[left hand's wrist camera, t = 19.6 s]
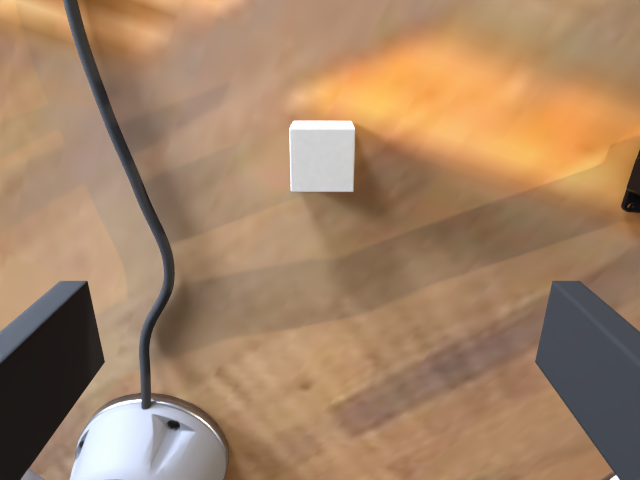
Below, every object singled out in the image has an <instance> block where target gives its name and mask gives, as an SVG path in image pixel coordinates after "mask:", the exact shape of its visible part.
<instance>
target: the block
mask: <svg viewBox="0 0 640 480" xmlns="http://www.w3.org/2000/svg"><path fill="white" fill-rule="evenodd" d="M354 151H355V128H354V126H353V123H352V121H293V123H292V125H291V127H290V169H291V192H353V186H354Z"/></svg>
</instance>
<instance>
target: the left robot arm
mask: <svg viewBox="0 0 640 480" xmlns="http://www.w3.org/2000/svg"><path fill="white" fill-rule="evenodd" d="M63 2H64V6H65V10H66V14H67V18H68V21H69V25H70V28H71V32H72V35H73V38H74V41H75V45H76V48H77V51H78V54H79V56H80V59H81V62H82V65H83V68H84V70H85V73H86V76H87V78H88V81H89V84H90V86H91V89H92V92H93V94H94V97H95V100H96V102H97V105H98V108H99V110H100V113H101V116H102V118H103V121H104V123H105V126H106V128H107V130H108V133H109V135H110V137H111V140H112V142H113V144H114V147H115V149H116V151H117V153H118V156H119V158H120V160H121V162H122V165H123V167H124V169H125V172H126V174H127V176H128V178H129V181H130V183H131V186H132V188H133V191H134V193H135V196H136V198H137V200H138V203H139V205H140V207H141V210H142V212H143V214H144V216H145V218H146V220H147V222H148V224H149V226H150V228H151V230H152V232H153V234H154V236H155V239H156V241H157V243H158V246H159V248H160V251H161V255H162V259H163V265H164V282H163V286H162V290H161V292H160V295H159V297H158V299H157V301H156V302H155V304H154V306H153V308H152V309H151V311H150V313H149V315H148V317H147V319H146V321H145V323H144V326H143V329H142V332H141V337H140V345H139V356H140V371H141V393H140V394H132V395H127V396H123V397H120V398H117V399H115V400H112V401H111V402H109V403H107V404H105V405H104V406H102V407H101V408H100V409H99V410H98V411H97V412H96V413H95V414H94V415H93V417H92V418H91V419H90V421H89V423H88V424H87V426H86V427H85V429H84V431H83V432H82V435H81V437H80V440H79V442H78V445H77V449H76V455H75V462H74V465H73V469H72V473H71V477H70V480H224V477H225V474H226V470H227V465H228V461H229V449H228V444H227V440H226V438H225V436H224V434H223V432H222V430H221V429H220V427H219V426H218V425H217V423H216V422H215V421H214V420H213V419H212V418H211V417H210V416H209V415H208V414H206V413H205V412H204V411H202V410H201V409H199V408H198V407H196V406H194V405H193V404H191V403H189V402H186V401H184V400H181V399H179V398H175V397H172V396H168V395H163V394H154V393H151V379H150V358H149V345H150V338H151V334H152V330H153V328H154V325H155V323H156V321H157V319H158V317H159V316H160V314H161V312H162V311H163V309H164V307H165V306H166V304H167V302H168V300H169V298H170V295H171V293H172V290H173V285H174V276H175V272H174V260H173V255H172V251H171V247H170V244H169V242H168V239H167V237H166V234H165V232H164V230H163V228H162V226H161V223H160V221H159V219H158V217H157V215H156V213H155V211H154V209H153V207H152V205H151V202H150V200H149V197H148V195H147V192H146V190H145V187H144V185H143V182H142V180H141V177H140V175H139V173H138V170H137V168H136V165H135V163H134V161H133V158H132V156H131V154H130V152H129V149H128V147H127V145H126V142H125V140H124V138H123V135H122V133H121V130H120V128H119V126H118V123H117V121H116V118H115V115H114V113H113V110H112V107H111V105H110V102H109V99H108V97H107V94H106V91H105V88H104V86H103V83H102V80H101V77H100V75H99V72H98V69H97V66H96V63H95V61H94V58H93V55H92V52H91V49H90V46H89V42H88V39H87V36H86V33H85V29H84V25H83V22H82V18H81V14H80V10H79V6H78V1H77V0H63ZM104 362H105V361H104V356H103V352H102V347H101V342H100V338H99V333H98V328H97V324H96V319H95V314H94V310H93V305H92V300H91V296H90V291H89V286H88V282H87V281H60V282H58V283H57V284H56V285H55V286H54V287H53V288H51V289H50V290H49V291H48V292H47V293H46V294H44V295H43V296H42V297H41V298H40V299H38V300H37V301H36V302H35V303H34V304H33V305H31V306H30V307H29V308H28V309H27V310H25V311H24V312H23V313H22V314H21V315H20V316H18V317H17V318H16V319H15V320H14V321H12V322H11V323H10V324H9V325H8V326H7V327H5V328H4V329H3V330H2V331H1V332H0V480H44V479H43V478H42V477H40V476H39V475H37V474H36V473H34V472H33V471H32V470H30V469H29V467H30V466H31V464H32V463H33V462H34V460H35V459H36V457H37V456H38V455H39V453H40V452H41V450H42V449H43V448H44V446H45V445H46V443H47V442H48V441H49V439H50V438H51V436H52V435H53V434H54V432H55V431H56V429H57V428H58V427H59V425H60V424H61V422H62V421H63V420H64V418H65V417H66V415H67V414H68V413H69V411H70V410H71V408H72V407H73V406H74V404H75V403H76V401H77V400H78V399H79V397H80V396H81V394H82V393H83V392H84V390H85V389H86V387H87V386H88V385H89V383H90V382H91V380H92V379H93V378H94V376H95V375H96V373H97V372H98V371H99V369H100V368H101V366H102V365H103V364H104ZM535 362H536V364H537V365H538V366H539V368H540V369H541V371H542V372H543V373H544V375H545V376H546V378H547V379H548V380H549V382H550V383H551V385H552V386H553V387H554V389H555V390H556V392H557V393H558V394H559V396H560V397H561V399H562V400H563V401H564V403H565V404H566V406H567V407H568V408H569V410H570V411H571V413H572V414H573V415H574V417H575V418H576V420H577V421H578V422H579V424H580V425H581V427H582V428H583V429H584V431H585V432H586V434H587V435H588V436H589V438H590V439H591V441H592V442H593V443H594V445H595V446H596V448H597V449H598V450H599V452H600V453H601V455H602V456H603V457H604V459H605V460H606V462H607V463H608V464H609V466H610V467H611V469H612V470H613V471H614V473H615V474H616V476H617V477H618V478H619V480H640V332H639V331H638V330H637V329H636V328H635V327H633V326H632V325H631V324H630V323H629V322H628V321H626V320H625V319H624V318H623V317H622V316H620V315H619V314H618V313H617V312H616V311H615V310H613V309H612V308H611V307H610V306H609V305H607V304H606V303H605V302H604V301H603V300H602V299H600V298H599V297H598V296H597V295H596V294H594V293H593V292H592V291H591V290H590V289H589V288H587V287H586V286H585V285H584V284H583V283H581V282H580V281H553V282H552V286H551V291H550V296H549V300H548V305H547V310H546V314H545V319H544V324H543V328H542V333H541V337H540V342H539V347H538V351H537V356H536V361H535Z"/></svg>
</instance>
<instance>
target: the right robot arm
mask: <svg viewBox="0 0 640 480" xmlns="http://www.w3.org/2000/svg"><path fill="white" fill-rule="evenodd" d="M629 204H631V205H630V207H628V208H627V206H628V205H629ZM621 207H622V209H623V210H625V211H627V212H635V213H640V151H639V154H638V157H637V159H636V161H635V164H634V167H633V170H632V173H631V176H630V179H629V182H628V185H627V190H626V193H625V196H624V199H623V202H622V206H621Z"/></svg>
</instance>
